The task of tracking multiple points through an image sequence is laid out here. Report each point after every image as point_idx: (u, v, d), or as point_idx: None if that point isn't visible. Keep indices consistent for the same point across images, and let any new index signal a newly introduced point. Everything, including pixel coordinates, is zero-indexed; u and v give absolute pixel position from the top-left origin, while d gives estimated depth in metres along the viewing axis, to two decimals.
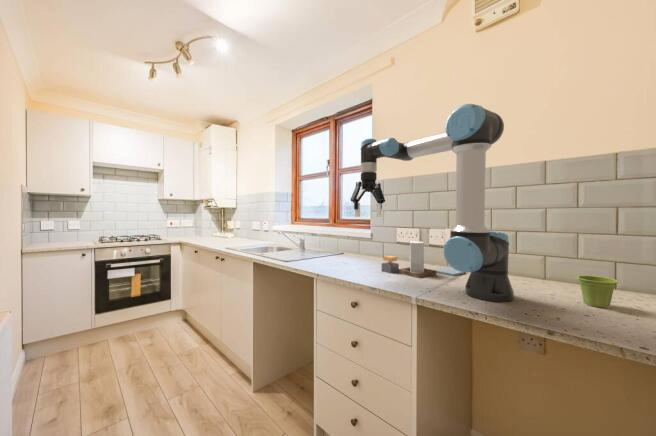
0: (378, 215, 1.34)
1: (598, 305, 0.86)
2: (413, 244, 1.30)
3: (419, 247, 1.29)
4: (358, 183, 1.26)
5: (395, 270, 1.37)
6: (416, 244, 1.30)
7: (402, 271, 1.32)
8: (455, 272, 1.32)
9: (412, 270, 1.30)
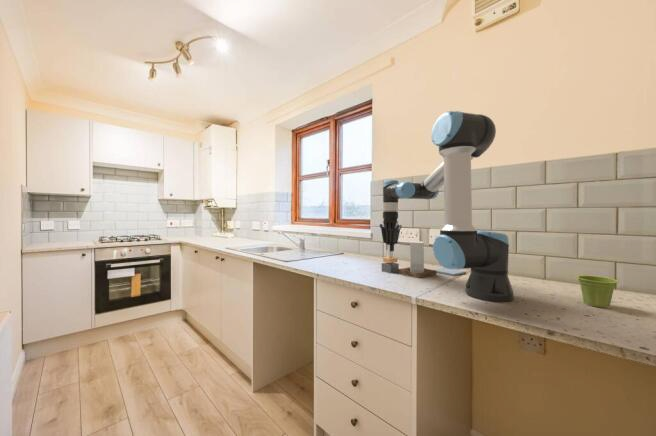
0: None
1: (598, 305, 0.86)
2: (413, 244, 1.30)
3: (419, 247, 1.29)
4: None
5: (395, 270, 1.37)
6: (416, 244, 1.30)
7: (402, 271, 1.32)
8: (455, 272, 1.32)
9: (412, 270, 1.30)
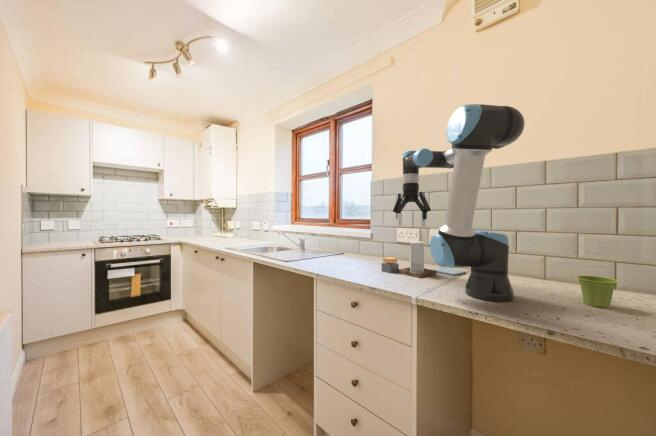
0: None
1: (598, 305, 0.86)
2: (413, 244, 1.30)
3: (419, 247, 1.29)
4: None
5: (395, 270, 1.37)
6: (416, 244, 1.30)
7: (402, 271, 1.32)
8: (455, 272, 1.32)
9: (412, 270, 1.30)
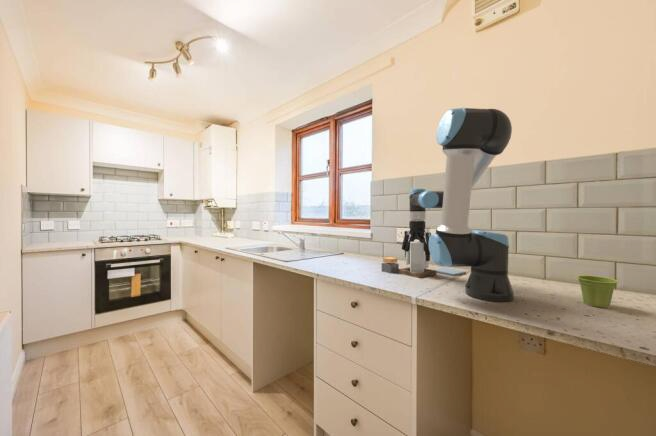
0: None
1: (598, 305, 0.86)
2: (413, 244, 1.30)
3: (419, 247, 1.29)
4: None
5: (395, 270, 1.37)
6: (416, 244, 1.30)
7: (402, 271, 1.32)
8: (455, 272, 1.32)
9: (412, 270, 1.30)
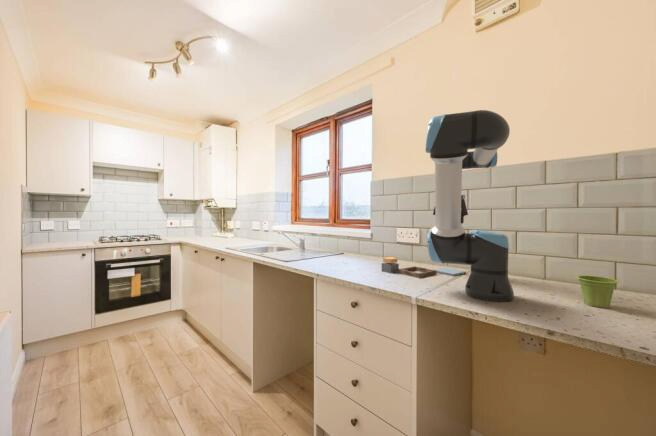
0: None
1: (598, 305, 0.86)
2: None
3: None
4: None
5: (395, 270, 1.37)
6: None
7: (402, 271, 1.32)
8: (455, 272, 1.32)
9: None
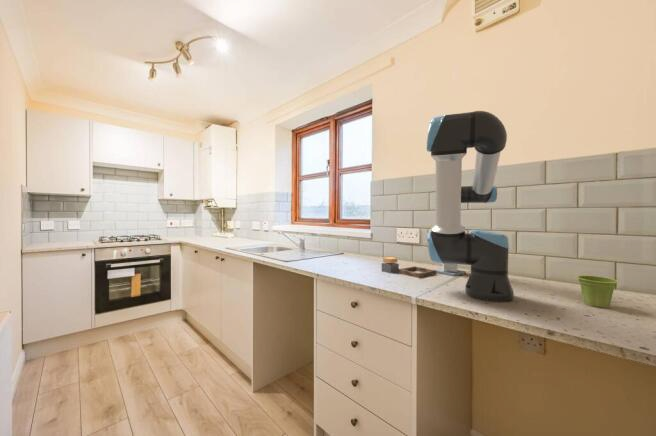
0: None
1: (598, 305, 0.86)
2: None
3: None
4: None
5: (395, 270, 1.37)
6: None
7: (402, 271, 1.32)
8: (455, 272, 1.32)
9: (445, 267, 1.32)
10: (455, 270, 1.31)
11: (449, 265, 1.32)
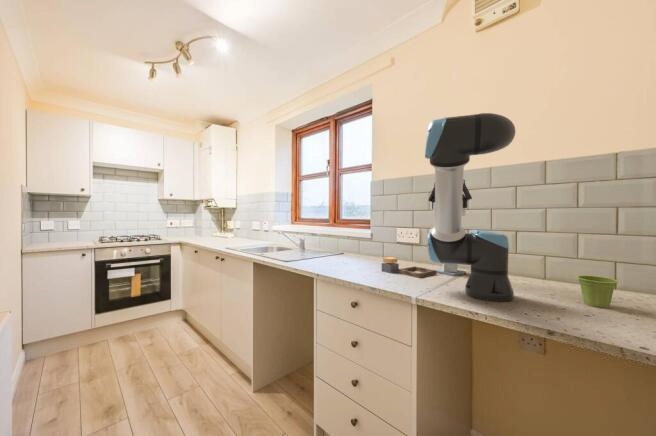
0: None
1: (598, 305, 0.86)
2: None
3: None
4: None
5: (395, 270, 1.37)
6: None
7: (402, 271, 1.32)
8: (455, 272, 1.32)
9: (445, 267, 1.32)
10: (455, 270, 1.31)
11: (449, 265, 1.32)
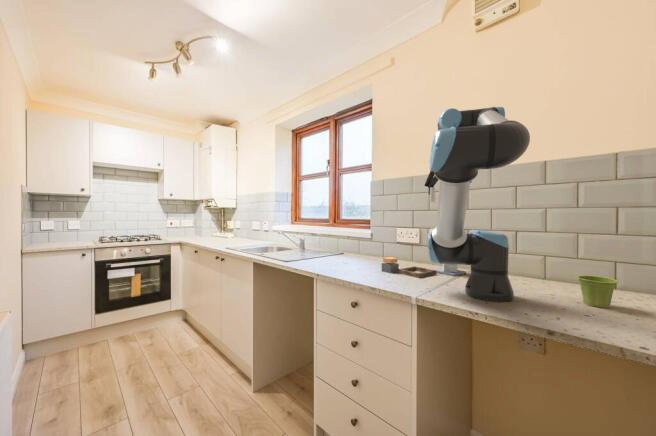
0: None
1: (598, 305, 0.86)
2: None
3: None
4: None
5: (395, 270, 1.37)
6: None
7: (402, 271, 1.32)
8: (455, 272, 1.32)
9: (445, 267, 1.32)
10: (455, 270, 1.31)
11: (449, 265, 1.32)
